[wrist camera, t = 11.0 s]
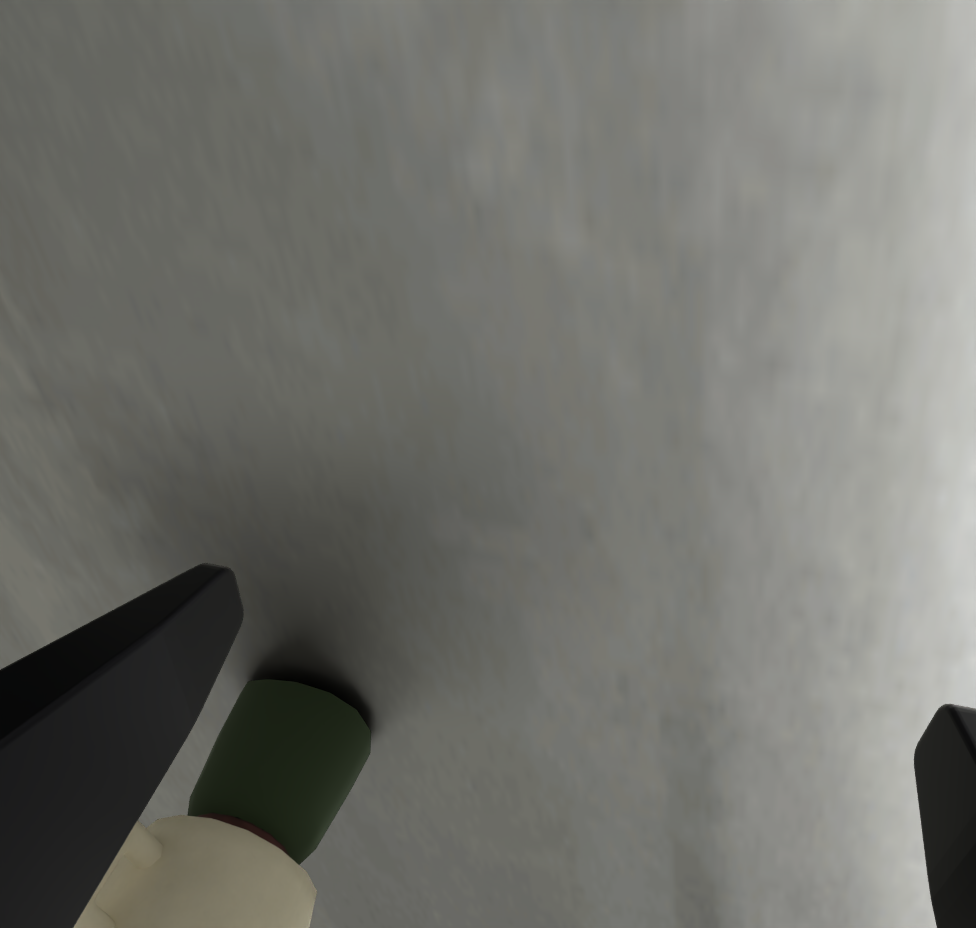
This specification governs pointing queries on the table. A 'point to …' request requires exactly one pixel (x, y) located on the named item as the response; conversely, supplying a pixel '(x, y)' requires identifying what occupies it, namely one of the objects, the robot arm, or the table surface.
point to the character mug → (243, 820)
